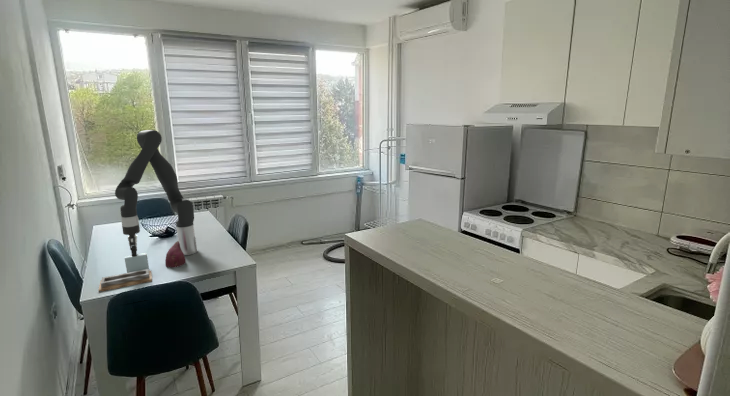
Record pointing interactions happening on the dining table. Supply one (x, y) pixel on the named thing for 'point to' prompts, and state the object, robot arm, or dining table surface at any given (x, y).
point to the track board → (125, 280)
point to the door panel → (136, 262)
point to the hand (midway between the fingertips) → (134, 253)
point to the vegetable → (175, 256)
